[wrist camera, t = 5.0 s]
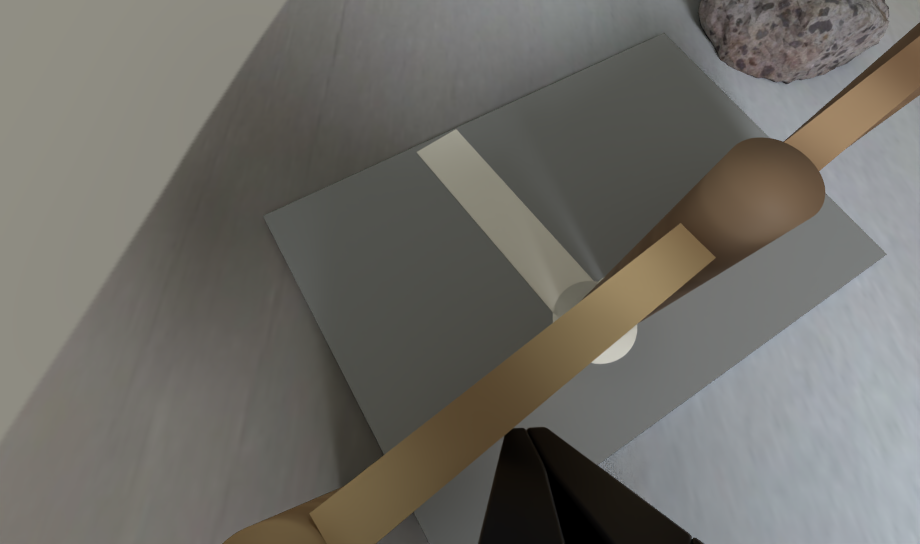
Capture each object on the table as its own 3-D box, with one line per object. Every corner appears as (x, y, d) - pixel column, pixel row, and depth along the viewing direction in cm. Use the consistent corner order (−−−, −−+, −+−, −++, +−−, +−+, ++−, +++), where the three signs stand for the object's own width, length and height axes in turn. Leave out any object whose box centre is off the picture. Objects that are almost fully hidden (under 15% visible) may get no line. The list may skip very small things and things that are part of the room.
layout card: (881, 256, 21) (887, 254, 21) (445, 573, 15) (445, 576, 15) (661, 37, 26) (664, 32, 25) (265, 218, 20) (262, 215, 20)
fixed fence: (591, 355, 18) (784, 241, 8) (559, 318, 19) (704, 168, 9) (783, 195, 22) (1084, -23, 12) (751, 167, 23) (1014, -65, 12)
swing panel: (555, 323, 18) (681, 195, 9) (585, 358, 18) (749, 260, 9) (329, 501, 16) (168, 583, 6) (357, 548, 15) (229, 713, 6)
